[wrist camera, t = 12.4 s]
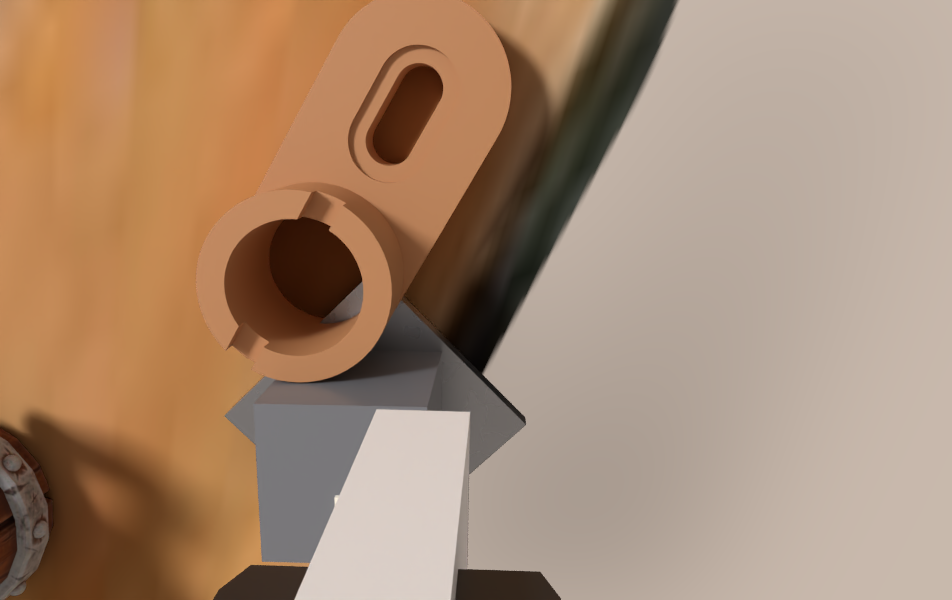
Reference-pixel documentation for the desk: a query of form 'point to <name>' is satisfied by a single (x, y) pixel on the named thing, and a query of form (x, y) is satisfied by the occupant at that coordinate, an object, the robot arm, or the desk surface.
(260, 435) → the squarish grey box
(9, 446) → the brown banded cylinder
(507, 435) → the shaft base
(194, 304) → the desk surface
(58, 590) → the desk surface
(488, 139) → the bracket
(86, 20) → the desk surface
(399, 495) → the robot arm
